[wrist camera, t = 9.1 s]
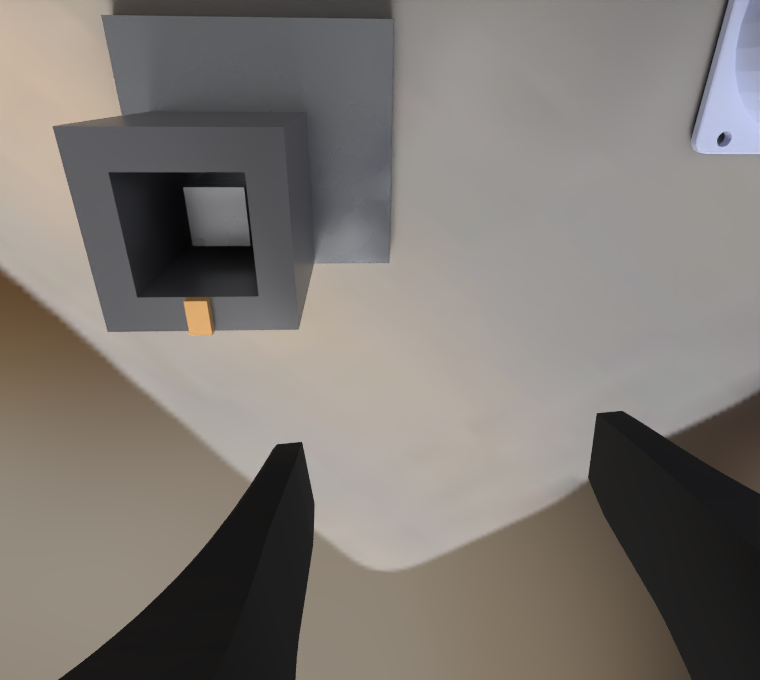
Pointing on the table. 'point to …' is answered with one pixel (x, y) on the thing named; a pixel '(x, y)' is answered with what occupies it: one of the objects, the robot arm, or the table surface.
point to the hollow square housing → (171, 225)
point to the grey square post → (219, 210)
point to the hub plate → (281, 102)
